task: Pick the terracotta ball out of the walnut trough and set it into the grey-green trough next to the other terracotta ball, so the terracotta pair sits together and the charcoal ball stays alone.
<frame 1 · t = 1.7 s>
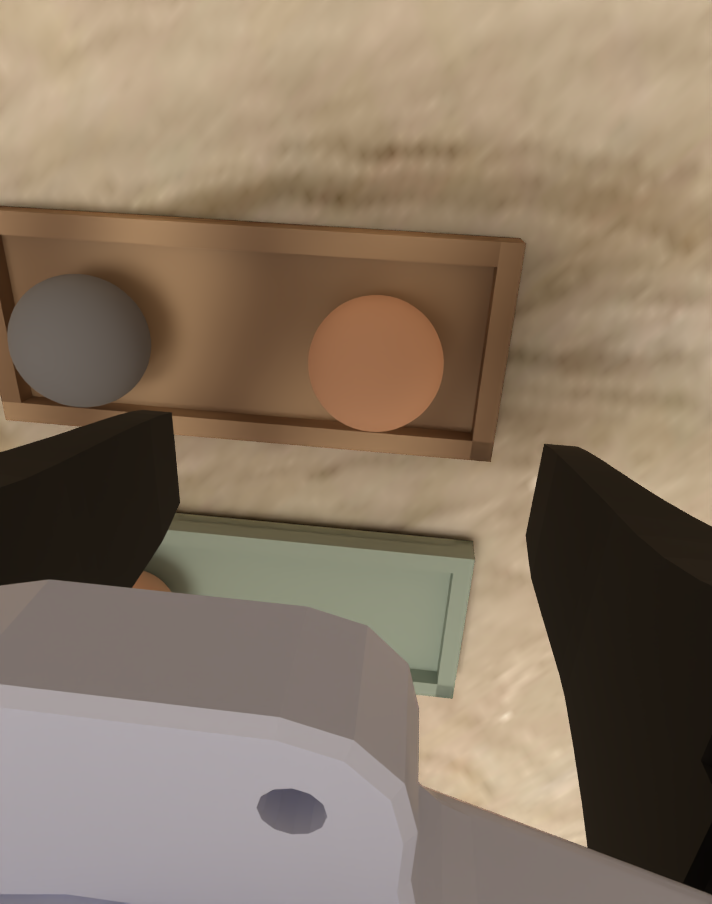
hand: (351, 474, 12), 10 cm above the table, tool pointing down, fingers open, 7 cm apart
trough walnut: (247, 331, 21), on the table
trough green: (255, 591, 26), on the table
terracotta ball a: (375, 364, 18), point 2 cm above the table, touching trough walnut
terracotta ball b: (124, 621, 24), point 2 cm above the table, touching trough green
charcoal ball: (82, 341, 19), point 2 cm above the table, touching trough walnut
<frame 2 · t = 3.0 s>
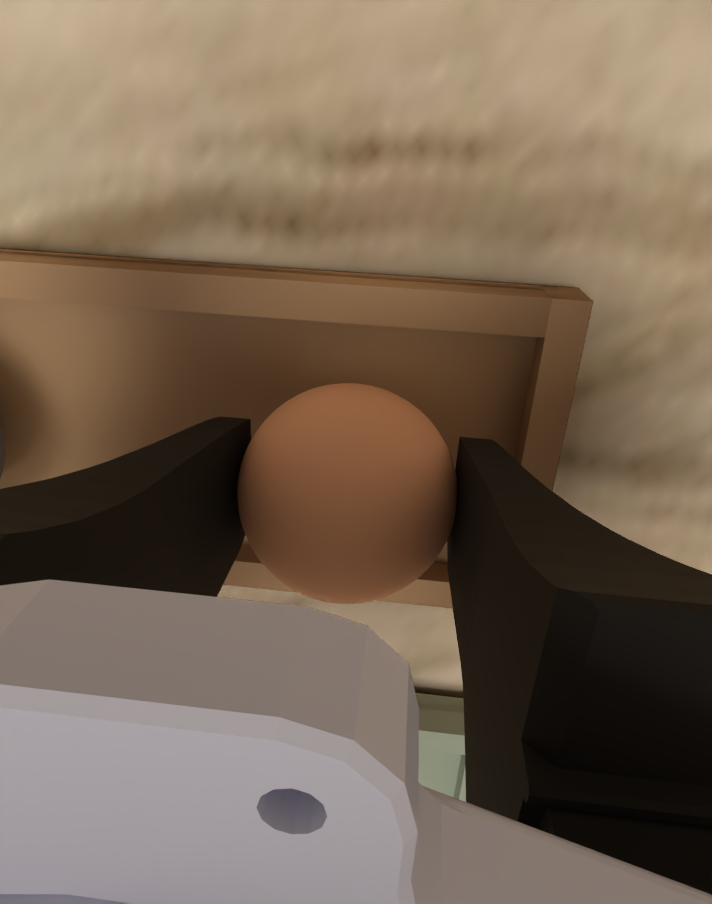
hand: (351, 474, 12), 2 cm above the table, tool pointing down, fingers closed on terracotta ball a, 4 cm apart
trough walnut: (161, 419, 14), on the table
trough green: (194, 752, 19), on the table
terracotta ball a: (347, 492, 11), point 2 cm above the table, touching gripper, trough walnut
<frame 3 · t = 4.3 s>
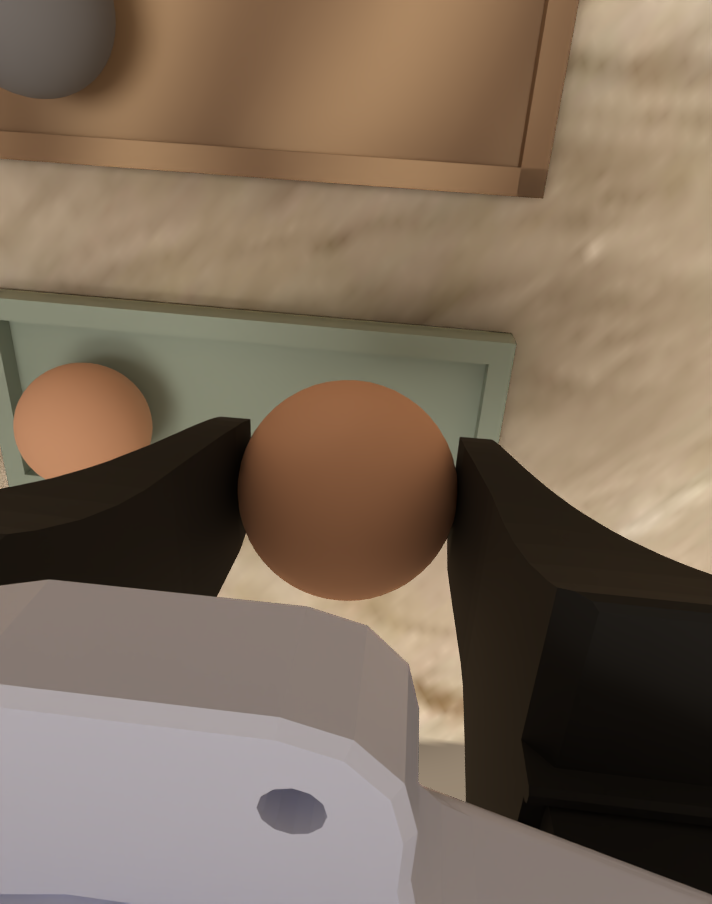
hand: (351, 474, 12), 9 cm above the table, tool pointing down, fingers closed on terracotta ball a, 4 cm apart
trough walnut: (240, 31, 17), on the table
trough green: (246, 410, 21), on the table
terracotta ball a: (347, 489, 11), point 10 cm above the table, touching gripper
terracotta ball b: (85, 426, 19), point 2 cm above the table, touching trough green
charcoal ball: (25, 1, 15), point 2 cm above the table, touching trough walnut
when the fingers open (3 cm above the table, at t = 6.0 s): terracotta ball a drops 1 cm, resting on trough green.
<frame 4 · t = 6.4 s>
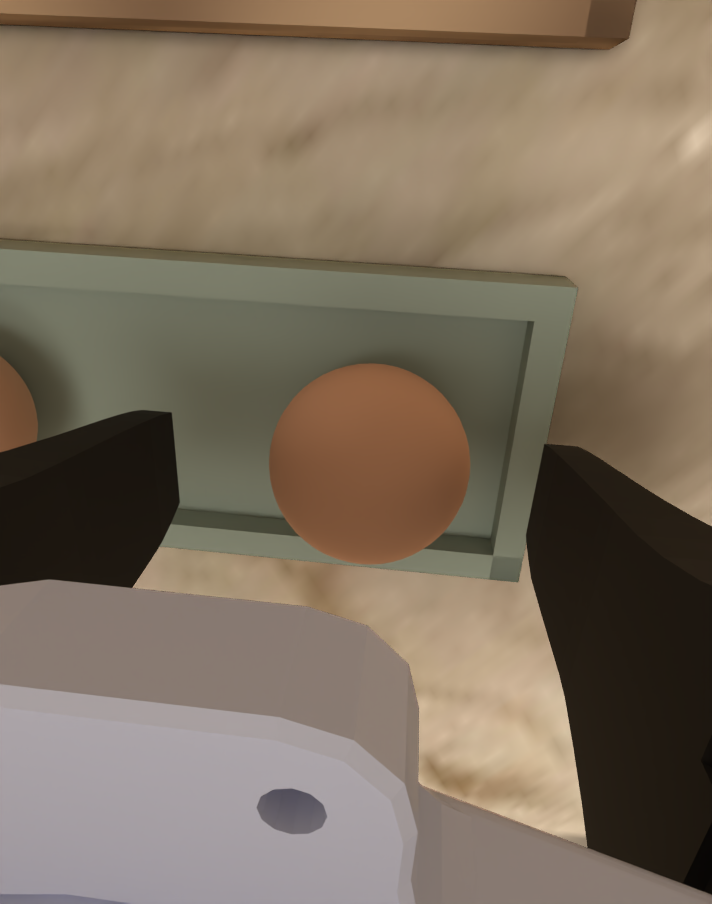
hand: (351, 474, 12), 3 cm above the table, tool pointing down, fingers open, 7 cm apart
trough green: (180, 400, 15), on the table
terracotta ball a: (369, 463, 12), point 2 cm above the table, tilted 9°, touching trough green
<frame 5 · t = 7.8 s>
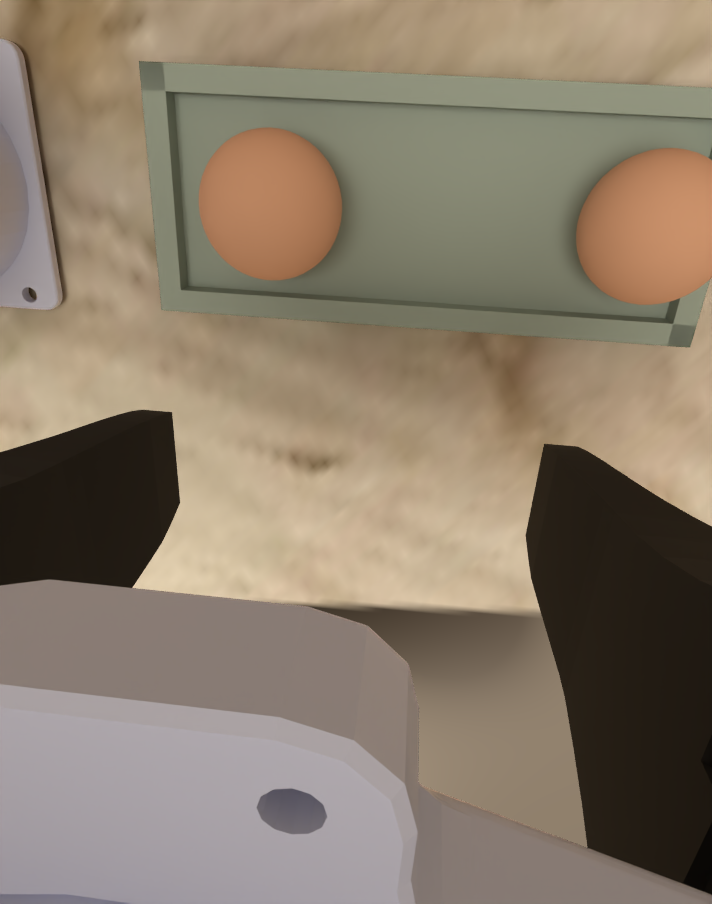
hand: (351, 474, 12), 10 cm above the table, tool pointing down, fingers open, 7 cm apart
trough green: (429, 209, 19), on the table
terracotta ball a: (653, 229, 17), point 2 cm above the table, tilted 46°, touching trough green
terracotta ball b: (271, 207, 17), point 2 cm above the table, touching trough green
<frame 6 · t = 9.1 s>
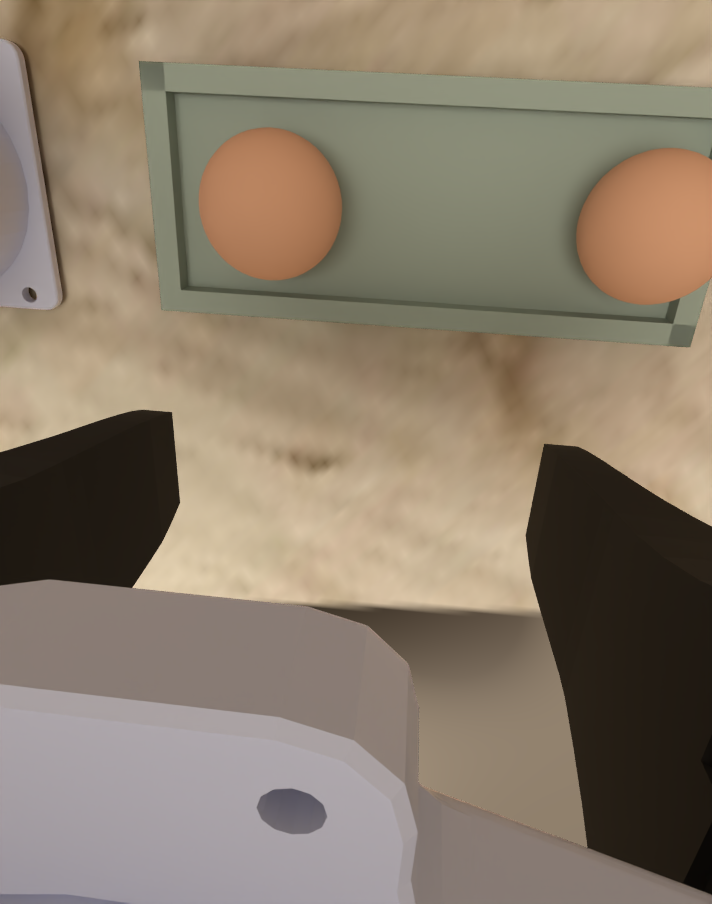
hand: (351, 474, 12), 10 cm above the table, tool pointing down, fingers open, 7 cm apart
trough green: (429, 209, 19), on the table
terracotta ball a: (654, 229, 17), point 2 cm above the table, tilted 46°, touching trough green
terracotta ball b: (271, 207, 17), point 2 cm above the table, touching trough green
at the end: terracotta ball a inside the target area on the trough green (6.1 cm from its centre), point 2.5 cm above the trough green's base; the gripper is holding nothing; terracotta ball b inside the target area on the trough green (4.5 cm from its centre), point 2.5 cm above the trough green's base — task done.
